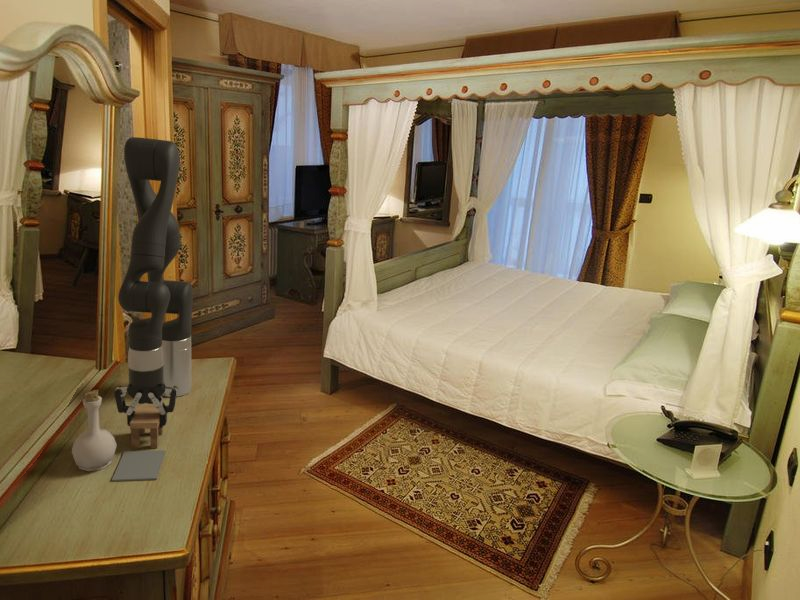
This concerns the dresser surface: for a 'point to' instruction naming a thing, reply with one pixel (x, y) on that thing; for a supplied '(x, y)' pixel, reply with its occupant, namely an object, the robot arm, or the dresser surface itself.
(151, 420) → the small wooden bench
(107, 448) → the potion bottle
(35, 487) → the dresser surface
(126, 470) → the mat
